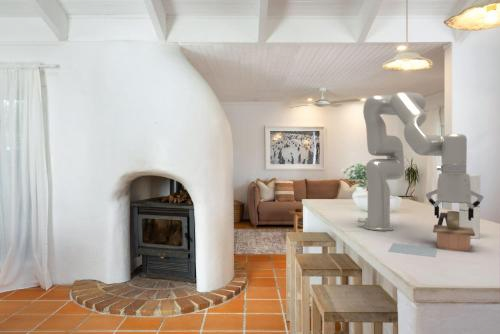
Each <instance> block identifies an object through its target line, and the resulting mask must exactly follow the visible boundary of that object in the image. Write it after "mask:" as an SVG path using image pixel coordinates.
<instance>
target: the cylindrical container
mask: <svg viewBox="0 0 500 334" xmlns="http://www.w3.org/2000/svg"><path fill="white" fill-rule="evenodd" d="M469 176H470V183H471V191H473V192H475V193H478V194H480V195H481V175H480V174H469ZM476 200H477V197H475V196H473V195H471V201H470V202H471V203H472V204H473V203H474V202H475V201H476ZM458 206H459V208H458V212H459V227H469V228H473V231H474V233H475V236H470V239H480V238H481V235H480V234H481V203H480V204H479V205H478V206H476V207H475V208H474V212H473V218H471V221H469V220H468V208H469V206H468V205H467V203H458Z"/></svg>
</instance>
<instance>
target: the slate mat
mask: <svg viewBox="0 0 500 334" xmlns="http://www.w3.org/2000/svg"><path fill="white" fill-rule="evenodd" d="M437 249H438V248H437V247H434V246H425V245H414V244H405V243H395V242H393V243H392V245H391V246H390V247H389V248H388V250H387V252H389V253H397V254H405V255H414V256H421V257H431V258H436V257H437Z"/></svg>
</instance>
